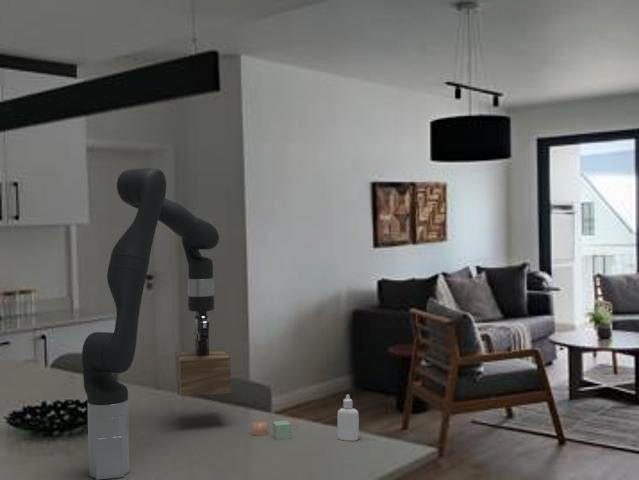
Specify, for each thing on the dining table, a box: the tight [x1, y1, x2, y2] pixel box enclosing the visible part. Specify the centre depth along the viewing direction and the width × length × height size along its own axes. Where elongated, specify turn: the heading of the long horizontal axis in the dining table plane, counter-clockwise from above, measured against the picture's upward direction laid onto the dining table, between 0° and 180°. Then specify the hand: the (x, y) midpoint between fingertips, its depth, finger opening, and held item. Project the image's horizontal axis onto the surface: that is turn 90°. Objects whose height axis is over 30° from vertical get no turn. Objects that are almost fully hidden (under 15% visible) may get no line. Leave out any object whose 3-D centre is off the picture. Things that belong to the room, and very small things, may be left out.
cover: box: [174, 338, 232, 398], centre depth 213 cm, size 14×14×14 cm
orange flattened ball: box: [251, 420, 269, 437], centre depth 202 cm, size 4×4×3 cm
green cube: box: [272, 419, 292, 440], centre depth 199 cm, size 4×4×4 cm
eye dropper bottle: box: [336, 394, 360, 442], centre depth 197 cm, size 4×6×12 cm
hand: (202, 352), depth 212 cm, fingers closed on cover, 3 cm apart
